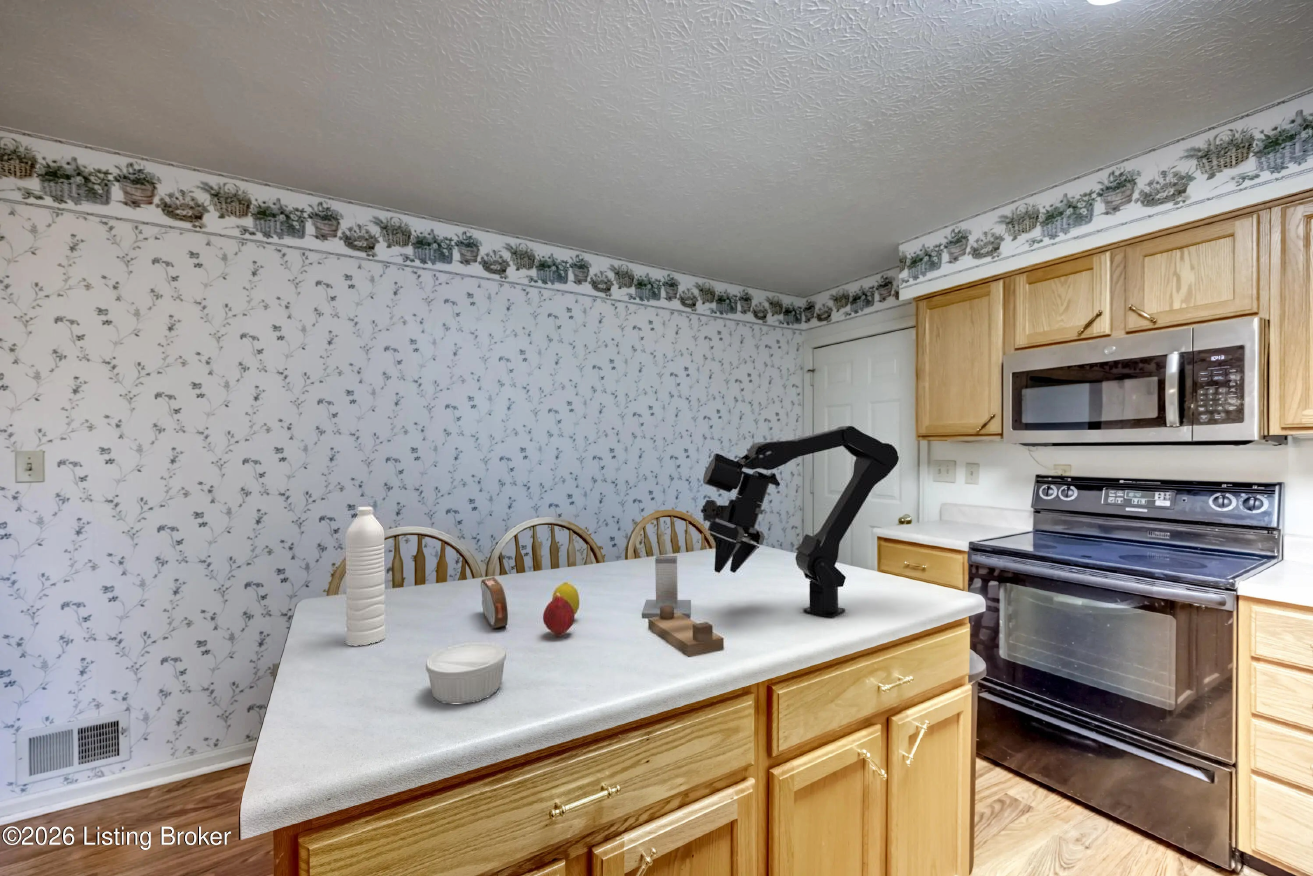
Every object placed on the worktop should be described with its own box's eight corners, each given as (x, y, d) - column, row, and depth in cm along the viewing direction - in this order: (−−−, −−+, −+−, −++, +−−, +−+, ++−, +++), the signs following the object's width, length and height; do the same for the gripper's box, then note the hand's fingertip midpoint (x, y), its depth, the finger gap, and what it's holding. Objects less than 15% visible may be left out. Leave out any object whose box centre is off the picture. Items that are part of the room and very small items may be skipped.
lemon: (582, 617, 116) (581, 578, 116) (575, 626, 110) (575, 585, 110) (556, 617, 116) (555, 578, 116) (548, 625, 111) (548, 585, 111)
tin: (509, 631, 108) (508, 588, 108) (492, 634, 106) (492, 590, 106) (494, 611, 121) (493, 572, 121) (479, 613, 120) (478, 574, 120)
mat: (690, 604, 124) (690, 599, 124) (690, 618, 114) (690, 613, 114) (646, 604, 125) (646, 599, 125) (641, 618, 115) (641, 613, 115)
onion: (580, 632, 106) (579, 590, 107) (565, 642, 101) (565, 598, 101) (553, 629, 108) (552, 588, 108) (537, 639, 103) (537, 596, 103)
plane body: (647, 628, 108) (647, 605, 108) (679, 622, 111) (679, 600, 111) (688, 656, 93) (688, 629, 94) (723, 649, 97) (723, 623, 97)
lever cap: (677, 604, 121) (677, 555, 121) (677, 608, 117) (676, 558, 117) (657, 604, 121) (656, 555, 121) (656, 608, 118) (655, 558, 118)
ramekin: (427, 716, 75) (426, 676, 75) (425, 683, 85) (425, 648, 85) (512, 699, 79) (511, 662, 79) (500, 670, 89) (500, 637, 89)
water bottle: (346, 638, 105) (345, 506, 105) (384, 632, 108) (383, 503, 108) (345, 653, 97) (344, 510, 98) (387, 646, 100) (385, 508, 101)
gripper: (729, 493, 127) (707, 558, 126) (698, 481, 111) (672, 556, 110) (775, 509, 121) (752, 577, 121) (749, 499, 105) (722, 578, 104)
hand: (724, 572), depth 114 cm, fingers open, 9 cm apart
